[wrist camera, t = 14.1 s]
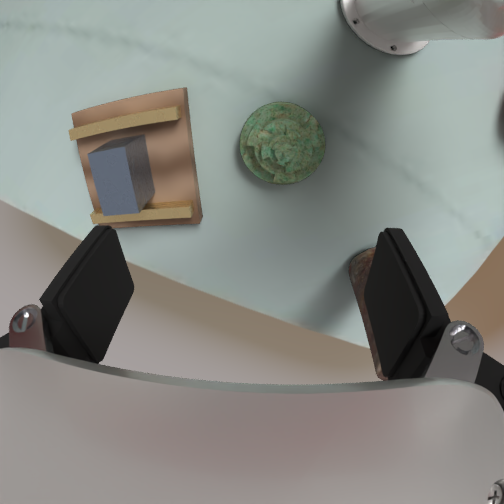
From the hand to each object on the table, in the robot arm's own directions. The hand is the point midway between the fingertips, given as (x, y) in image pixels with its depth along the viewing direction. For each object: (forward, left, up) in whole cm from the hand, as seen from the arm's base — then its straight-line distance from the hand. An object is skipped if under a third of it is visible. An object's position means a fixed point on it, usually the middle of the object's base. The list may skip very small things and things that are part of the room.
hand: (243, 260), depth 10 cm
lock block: (+4, -16, -26) cm, 31 cm away
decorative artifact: (+3, +3, -29) cm, 29 cm away
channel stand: (+4, -16, -28) cm, 33 cm away
